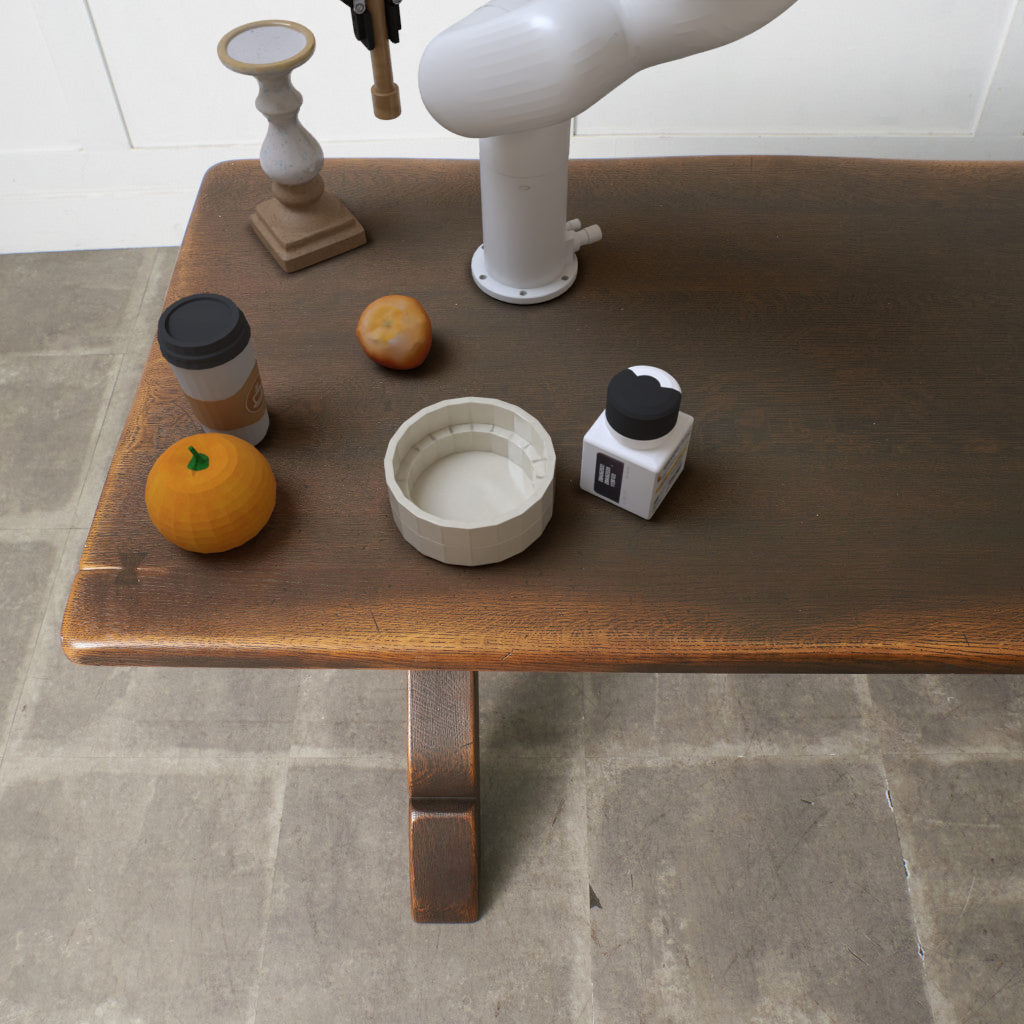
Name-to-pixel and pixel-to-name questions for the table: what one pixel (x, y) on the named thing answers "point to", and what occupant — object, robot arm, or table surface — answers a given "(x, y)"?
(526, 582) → the table surface
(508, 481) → the bowl
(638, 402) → the container
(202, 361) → the coffee cup
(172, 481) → the fruit
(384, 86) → the wooden pestle
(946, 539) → the table surface
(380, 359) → the fruit
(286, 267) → the candle holder
